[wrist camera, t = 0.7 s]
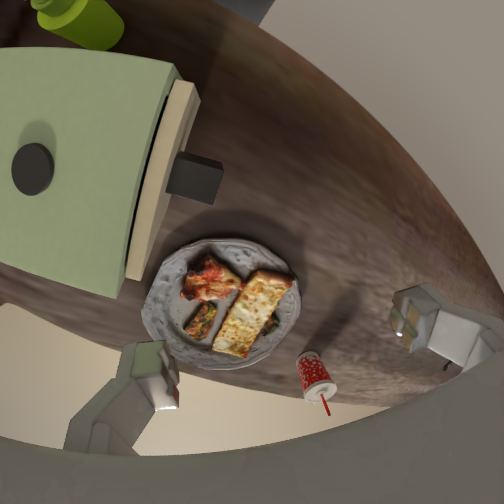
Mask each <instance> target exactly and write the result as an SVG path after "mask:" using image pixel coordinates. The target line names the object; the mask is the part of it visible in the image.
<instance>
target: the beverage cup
mask: <svg viewBox="0 0 504 504" xmlns="http://www.w3.org/2000/svg"><path fill="white" fill-rule="evenodd" d="M296 364H297V367H298V371H299V375H300V378H301V382H302V386H303V390H304V399H305V400H306V401H307V402H309V403H319V402H323V403H324V406H325V409H326V411H327V413H328V416H330V415H331V414H330V411H329V409H328V406H327V404H326V401H325V400H327V399H329V398H330V397H332V396H333V395H334V394H335V392H336V391H337V386H336V384H335V383H334V381H332V380H331V378H330V376H329V374H328V372H327V370H326V369H325V367H324V365H323V363H322V361H321V359H320V358H319V356H318V354H317V353H316V352H313V351H309V352H305V353H303V354H301V355H300V356H299V357H298V358H297V360H296Z"/></svg>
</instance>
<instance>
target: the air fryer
mask: <svg viewBox="0 0 504 504" xmlns="http://www.w3.org/2000/svg"><path fill="white" fill-rule="evenodd" d="M175 79H179V80H183V79H182V77H181V76H180V74H179V72H178V71H177V69H176V67H175V66H174V64H173V63H169V62H165V61H160V60H155V59H150V58H145V57H139V56H134V55H127V54H121V53H114V52H106V51H98V50H88V49H76V48H59V47H12V48H0V262H3V263H5V264H8V265H11V266H13V267H16V268H19V269H22V270H24V271H27V272H30V273H33V274H36V275H39V276H42V277H45V278H48V279H51V280H54V281H57V282H60V283H63V284H67V285H70V286H73V287H76V288H80V289H83V290H86V291H90V292H93V293H97V294H100V295H104V296H107V297H111V298H115V299H116V298H117V296H118V293H119V291H120V288H121V286H122V283H123V281H124V279H125V274H126V267H127V261H128V255H129V249H130V244H131V238H132V233H133V228H134V223H135V219H134V218H133V213H134V208H135V204H136V199H137V195H138V190H139V186H140V182H141V178H142V174H143V170H144V166H145V162H146V159H147V155H148V151H149V148H150V144H151V141H152V137H153V134H154V131H155V127H156V124H157V121H158V118H159V115H160V112H161V109H162V106H163V103H167V101H168V98H169V95H170V92H171V89H172V87H173V84H174V81H175ZM183 81H184V80H183Z"/></svg>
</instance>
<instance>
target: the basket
mask: <svg viewBox="0 0 504 504" xmlns="http://www.w3.org/2000/svg"><path fill="white" fill-rule="evenodd" d="M200 102H201V101H200V98H199V95H198V93H197V90H196V87H195V85H194V83H191V82H187V81H183V80H179V79H175V81H174V84H173V87H172V89H171V92H170V95H169V98H168V101H167V103H163V106H162V109H161V112H160V115H159V118H158V121H157V124H156V127H155V131H154V134H153V137H152V141H151V144H150V148H149V151H148V155H147V159H146V162H145V166H144V170H143V174H142V178H141V182H140V186H139V190H138V195H137V199H136V204H135V208H134V213H133V218H134V219H135V223H134V228H133V233H132V238H131V244H130V249H129V255H128V261H127V267H126V274H125V277H127V278H131V279H134V280H138V281H141V278H142V275H143V272H144V269H145V266H146V263H147V261H148V258H149V255H150V252H151V249H152V247H153V244H154V241H155V239H156V236H157V233H158V231H159V228H160V226H161V223H162V220H163V218H164V215H165V213H166V210H167V208H168V205H169V201H170V197H171V194H172V195H176V196H179V197H183V198H187V199H190V200H194V201H198V202H201V203H205V204H209V205H213V203H214V200H215V197H216V194H217V191H218V188H219V185H220V182H221V179H222V176H223V173H224V169H223V166H222V163H221V162H218V161H215V160H211V159H208V158H204V157H201V156H197V155H194V154H190V153H186V152H184V150H185V146H186V143H187V140H188V137H189V134H190V131H191V128H192V125H193V122H194V119H195V116H196V113H197V110H198V108H199V105H200Z"/></svg>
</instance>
